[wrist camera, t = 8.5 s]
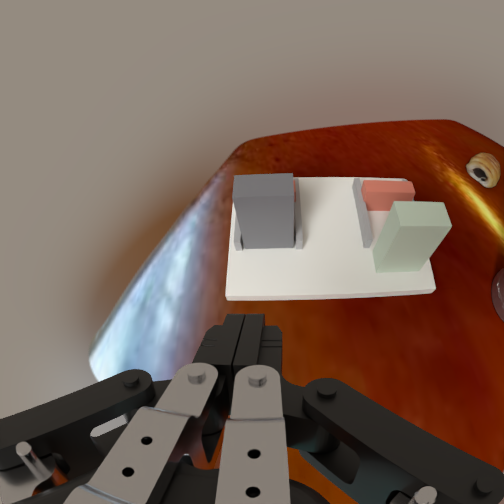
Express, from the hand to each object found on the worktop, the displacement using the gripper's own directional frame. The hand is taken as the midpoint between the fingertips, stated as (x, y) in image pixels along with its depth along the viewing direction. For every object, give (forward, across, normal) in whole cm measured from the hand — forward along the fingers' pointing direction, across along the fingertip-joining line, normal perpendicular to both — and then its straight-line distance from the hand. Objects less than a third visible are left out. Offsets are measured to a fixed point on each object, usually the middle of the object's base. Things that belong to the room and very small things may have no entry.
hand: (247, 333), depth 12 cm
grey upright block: (+27, 0, +2) cm, 27 cm away
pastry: (+39, -40, -7) cm, 56 cm away
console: (+29, -8, +2) cm, 30 cm away
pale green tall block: (+24, -16, +5) cm, 29 cm away
